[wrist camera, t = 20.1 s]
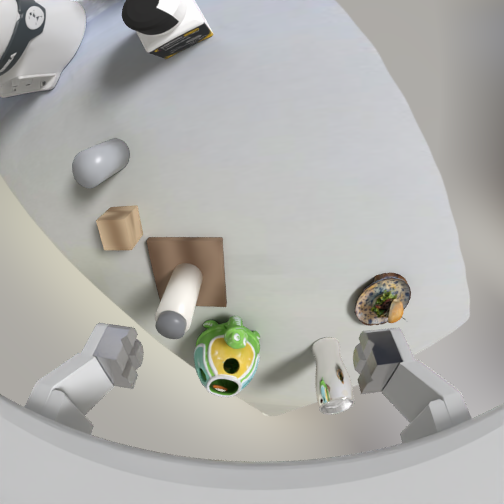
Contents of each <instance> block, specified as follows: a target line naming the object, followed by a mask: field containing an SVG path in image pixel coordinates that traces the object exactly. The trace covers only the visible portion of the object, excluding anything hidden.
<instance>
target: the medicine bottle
mask: <svg viewBox="0 0 504 504" xmlns="http://www.w3.org/2000/svg"><path fill="white" fill-rule="evenodd" d="M122 18H123V21H124V23H125V24H126V25H127V26H128V27H129V28H131V29H133V30H135V31H136V32H137V34H138V36H139V38H140V40H141V42H142V44H143V46H144V48H145V50H146V51H147V52H148V53H151V54H154V55H157V56H159V57H162V58H165V59H167V58H169V57H171V56H173V55H175V54H177V53H178V52H180V51H182V50H184V49H186V48H188V47H190V46H192V45H194V44H196V43H198V42H200V41H202V40H204V39H207V38H209V37H211V36H213V32H212V30H211V28H210V26H209V25H208V23H207V21H206V19H205V18H204V16H203V14H202V12H201V11H200V9H199V7H198V5H197V4H196V2H195V0H126V1H125V3H124V6H123V9H122Z"/></svg>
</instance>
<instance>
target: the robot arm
mask: <svg viewBox="0 0 504 504" xmlns="http://www.w3.org/2000/svg"><path fill="white" fill-rule="evenodd" d="M85 27H86V14H85V11H84V8H83V7H82V5H81V4H80V3H78V2H76V1H73V0H0V96H1V97H2V98H7V97H11V96H16V95H21V94H26V93H32V92H38V91H44V90H50V89H53V88H54V87H55V85H56V83H57V81H58V79H59V76H60V74H61V72H62V70H63V69H64V68H65V66H66V65H67V64H68V63H69V62H70V60H71V59H72V58H73V56H74V55H75V53H76V51H77V50H78V48H79V46H80V43H81V41H82V39H83V36H84V32H85ZM45 82H46V83H45ZM137 335H138V334H137V332H136V330H135V328H132V327H125V326H118V325H111V324H104V323H98V324H97V325H96V326H95V328H94V330H93V332H92V333H91V335H90V337H89V339H88V341H87V343H86V345H85V346H84V349H83V350H82V352H81V354H80V353H77V354H76V355H75V356H73V357H71V358H70V359H69V360H68V361H66V362H64V363H63V364H61V365H60V366H58V367H57V368H56V369H54V370H53V371H51V372H50V373H48V374H47V375H45V376H44V377H43V378H41V379H40V380H38V381H37V382H36V384H35V386H34V388H33V390H32V392H31V394H30V396H29V398H28V401H27V403H26V405H25V407H23V406H21V405H19V404H17V403H15V402H13V401H11V400H10V399H8V398H6V397H4V396H2V395H1V394H0V504H504V403H503V404H501V405H499V406H497V407H495V408H493V409H491V410H489V411H487V412H485V413H483V414H481V415H479V416H477V417H474V418H473V419H471V416H470V414H469V411H468V408H467V406H466V403H465V401H464V398H463V396H462V394H461V392H460V391H459V390H458V389H457V388H455V387H454V386H453V385H451V384H450V383H448V381H446V380H445V379H444V378H442V377H441V376H439V375H438V374H437V373H436V372H434V371H433V370H432V369H430V368H429V367H428V366H427V365H425V364H424V363H422V362H421V361H420V360H415V357H414V355H413V353H412V351H411V348H410V346H409V344H408V342H407V340H406V338H405V335H404V333H403V331H402V329H400V328H390V329H379V330H369V331H363V332H362V333H361V334H360V337H359V340H360V343H359V344H358V345H357V346H356V347H355V350H354V355H353V363H354V368H355V370H356V371H357V372H358V373H359V374H360V376H359V378H358V383H359V387H360V391H361V394H366V393H374V392H382V394H383V395H384V396H385V397H386V398H387V399H388V400H389V401H390V402H391V403H392V404H393V405H394V406H395V407H396V409H397V410H398V411H400V413H401V414H402V415H403V416H404V417H405V418H406V419H407V420H408V421H409V422H410V424H409V425H408V426H407V427H406V428H405V429H404V430H403V431H402V432H401V434H400V435H401V439H402V443H401V444H398V445H394V446H390V447H385V448H381V449H377V450H372V451H367V452H362V453H356V454H351V455H344V456H337V457H330V458H322V459H311V460H299V461H277V462H245V461H244V462H242V461H224V460H211V459H201V458H192V457H185V456H178V455H171V454H166V453H160V452H155V451H150V450H145V449H141V448H136V447H132V446H128V445H124V444H120V443H116V442H113V441H110V440H106V439H103V438H99V437H96V436H93V435H91V433H92V429H93V424H92V422H90V421H89V420H88V419H87V418H86V416H85V415H86V414H87V412H89V410H91V409H92V408H93V407H94V406H95V405H96V404H97V403H98V402H99V401H100V400H101V399H102V398H103V397H104V396H105V395H106V394H107V393H108V392H109V391H110V390H111V389H112V388H113V387H114V386H119V387H124V388H131V389H133V388H134V385H135V382H136V379H137V376H138V375H137V372H136V369H137V368H138V367H140V366H141V364H142V361H143V353H144V352H143V346H142V344H141V342H140V341H139V340H137V339H136V337H137Z"/></svg>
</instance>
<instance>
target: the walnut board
mask: <svg viewBox="0 0 504 504" xmlns="http://www.w3.org/2000/svg"><path fill="white" fill-rule="evenodd" d="M147 246H148V251H149V256H150V260H151V265H152V269H153V274H154V278H155V282H156V286H157V290H158V294H159V298H160V302H161V299H162V297H163V294H164V292H165V290H166V287H167V285H168V282H169V280H170V278H171V275H172V273H173V271H174V269H175V267H176V266H177V265H179V264H182V263H189V264H192V265H194V266H196V267H197V268H199V270H200V271H201V273H202V276H203V280H202V283H201V287H200V291H199V294H198V298H197V302H196V306H214V307H226V304H227V299H226V285H225V270H224V255H223V238H222V237H149V238H148V240H147Z"/></svg>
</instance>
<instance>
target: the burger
mask: <svg viewBox="0 0 504 504" xmlns="http://www.w3.org/2000/svg"><path fill="white" fill-rule="evenodd" d="M410 296H411V291H410V287H409V285H408V283H407V281H406V280H405V278H404V277H402V276H401V275H399V274H396V273H388V274H386V273H383V274H381V275H376V276H375V279H374V282H373V283H371V284H370V285H368V286H367V287H366V288H365V289H364V291H363V292H362V294H361V295H360V296H359V298H358V300H357V302H356V307H355V314H356V316H357V317H358V319H359V321H361V322H362V323H363V324H365V325H370V326H371V325H379V324H384V323H386V322H389V323H394V322H397V321H398V320H400V318H401V317H402V315H403V310H404V309H405V307H406V306H407V305H408V302H409V300H410V298H411V297H410ZM402 318H403V317H402ZM403 319H404V318H403Z"/></svg>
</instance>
